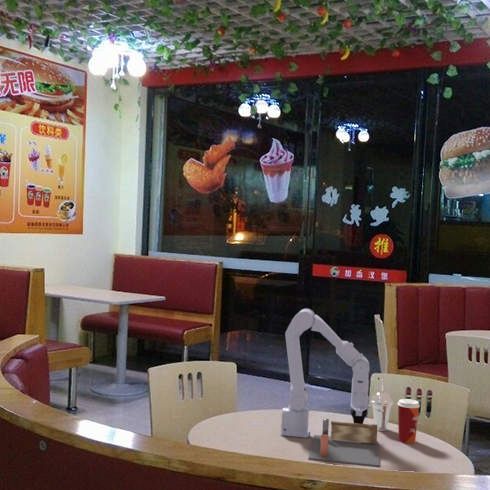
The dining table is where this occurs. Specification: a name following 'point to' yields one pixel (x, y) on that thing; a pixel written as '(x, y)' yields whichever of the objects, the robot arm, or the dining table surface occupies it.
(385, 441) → the dining table surface
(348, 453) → the mat
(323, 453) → the post
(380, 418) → the cup with straw
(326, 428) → the hinge post
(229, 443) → the dining table surface
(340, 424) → the gate
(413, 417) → the paper cup
